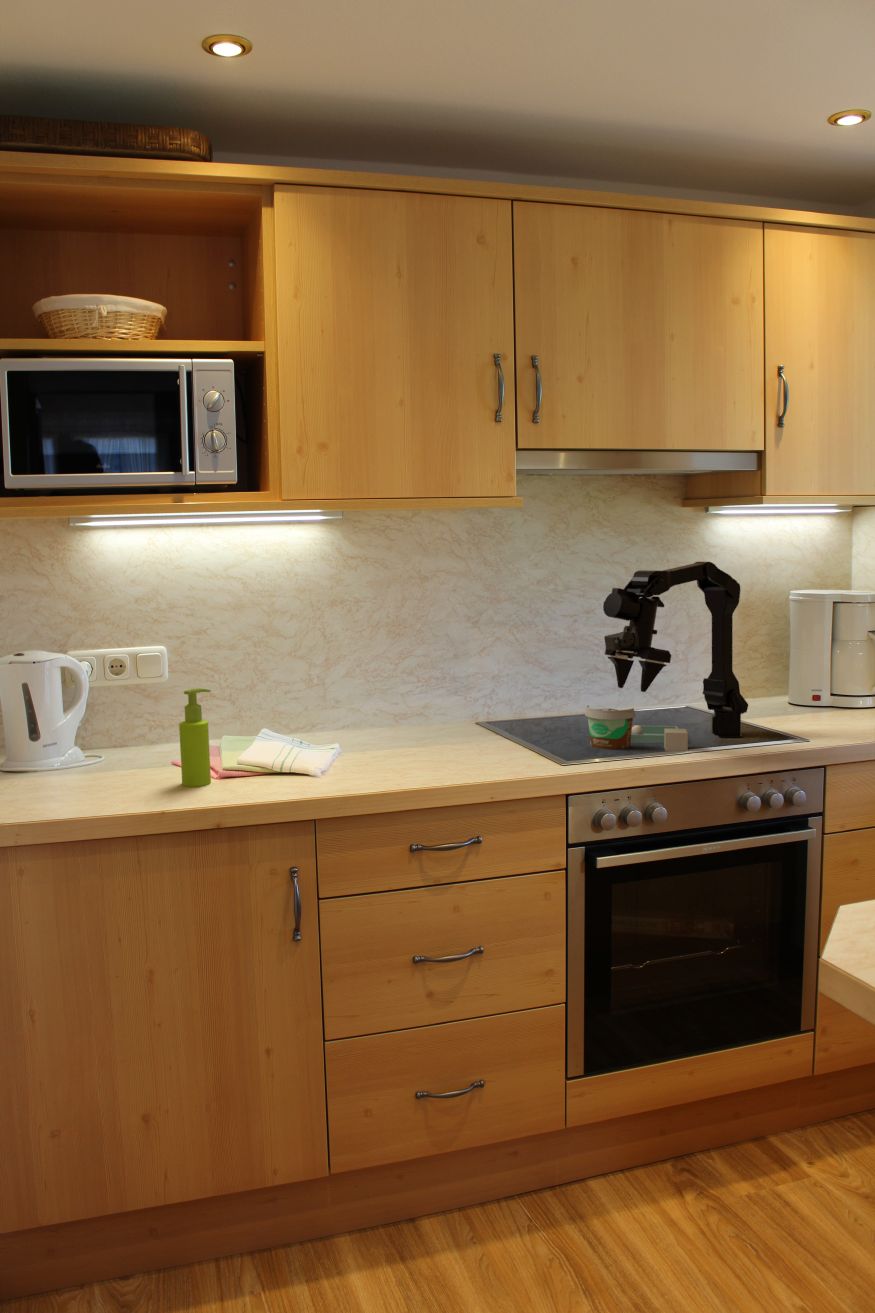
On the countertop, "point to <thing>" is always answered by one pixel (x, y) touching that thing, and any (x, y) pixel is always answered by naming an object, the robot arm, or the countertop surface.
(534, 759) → the countertop surface
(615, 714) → the food container
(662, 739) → the tray
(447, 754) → the countertop surface
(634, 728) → the pebble
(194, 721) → the soap dispenser
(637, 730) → the pebble
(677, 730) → the beige cube
